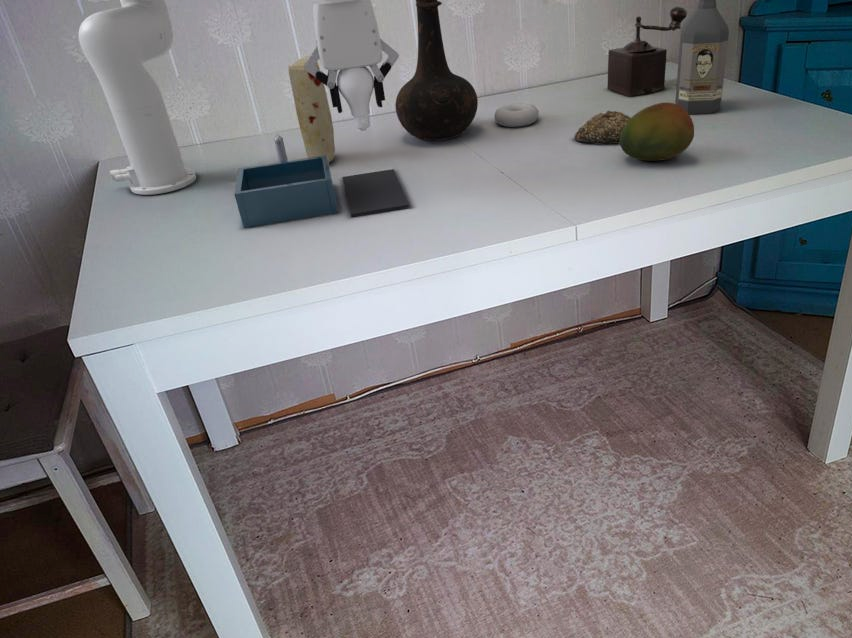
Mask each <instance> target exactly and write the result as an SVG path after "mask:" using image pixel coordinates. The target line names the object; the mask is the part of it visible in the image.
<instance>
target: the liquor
mask: <svg viewBox="0 0 852 638" xmlns="http://www.w3.org/2000/svg"><path fill="white" fill-rule="evenodd" d="M729 37H730V30H729V25H728V24H727V22H726V21H725V19H724V18H723V16H722V14H721V13H720V12H719V10H718V9H717V0H698V2H697V7H696V9H695V10H693V12H692V13H691V14H690V16H689V17H688V18H687V19H686V20H685V21H684V22H683V24H682V26H681V29H680V36H679V48H678V49H679V51H678V62H677V73H676V74H677V75H676V86H675V87H676V88H675V99H674V100H675V101H674V104H677V105H679V106H681V107H683V108H684V109H685V110H686V111H687V112H688V114H689V115H707V114H708V115H709V114H713V113H716V112H719V110H720V109H721V106H722V97H723V89H724V81H725V80H724V79H725V71H726V62H727V53H728V44H729Z"/></svg>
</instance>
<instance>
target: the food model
mask: <svg viewBox="0 0 852 638" xmlns="http://www.w3.org/2000/svg"><path fill="white" fill-rule="evenodd" d="M309 57H310V55H306V56H303V57H302V58H299V59H297V60H295V62H294V63H292V64H291V65H288V77H289V81H290V86H291V91H292V97H293V101H294V108H295V112H296V117H297V121H298V125H299V130H300V134H301V138H302V142H303V146H304V150H305V153H306V158H312V157H318V156H325V155H327V157H328V162H329V163H330V162H332V161H333V160H334V158H335V154H336V145H335V131H334V125H333V118H332V114H331V108H330V104H329V100H328V93H327V90H326V87H325V86H326V85H325V84H323V83H322V82H321V81H319V80H318V79H317V78H316V77H315V76H313V75H312V74H311V73H309V72H308V71H307V70H305V68H304V64H305V63H306V61H307V60H308V58H309ZM315 67H316V68H317V69H319V70H320V71H321V68H320V65H319V62H318V61H317V62H316V64H315Z"/></svg>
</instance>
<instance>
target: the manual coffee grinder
mask: <svg viewBox="0 0 852 638" xmlns="http://www.w3.org/2000/svg"><path fill="white" fill-rule="evenodd" d="M687 15H688V12H687V10H686V9H685V8H684V7H681V6H675V7H672V8H671V9H670V11H669V16H670V20H671V21H670V23H669V25H668V26H659V25H647V24H646V25H644V24H642V23H641V22H642V17H641V16H636V18H635V24H634V26H635V39H634V41H630V42H629V43H627V44H626V45H625V46H623V47H618V48H613V49H608V55H607V57H608V58H607V59H608V60H607V87H606V89H607V90H609V91H611V92H613V93H617V94H620V95H622V96H626V97H630V98H632V97H638V96H642V95H647V94H652V93H655V92H658V91H662V90H665V89H666V86H665V85H666V84H665V81H666V68H667V67H666V66H667V53H668V49H667V48H663V47H660V46H659V47H658V46H653V45H652V44H651V43H649V42H648V41H646V40H641V29H643V30H653V31H661V32H662V31H663V32H669V31H672V32H674V31H676V30H681V29H682V26H681V25H682V24H681V23H682V22H683V21H684V19H686V18H687Z"/></svg>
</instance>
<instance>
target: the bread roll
mask: <svg viewBox="0 0 852 638" xmlns="http://www.w3.org/2000/svg"><path fill="white" fill-rule="evenodd" d="M631 118H632V117H630V116H629V115H627V114H625V113H624V112H621V111H615V110H607V111H606V112H604V113H602V112H600V113H599V114H595V115H594V116H593V117H591V118H589V119H588V120H587V121H586V122H585V123H584V124H583V125H582V126H580V127H579V128H578V130H577V131H575V133H574V139H575V141H577V142H581V143H589V144H620V134H621V132H622V130H623V128H624V126H625V125H626V123H627V122H628V121H629V120H630V119H631Z"/></svg>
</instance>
